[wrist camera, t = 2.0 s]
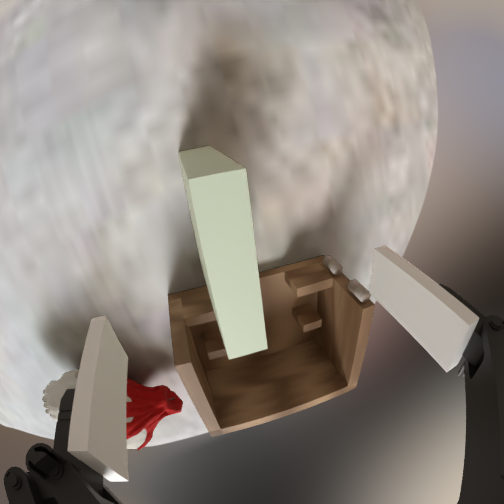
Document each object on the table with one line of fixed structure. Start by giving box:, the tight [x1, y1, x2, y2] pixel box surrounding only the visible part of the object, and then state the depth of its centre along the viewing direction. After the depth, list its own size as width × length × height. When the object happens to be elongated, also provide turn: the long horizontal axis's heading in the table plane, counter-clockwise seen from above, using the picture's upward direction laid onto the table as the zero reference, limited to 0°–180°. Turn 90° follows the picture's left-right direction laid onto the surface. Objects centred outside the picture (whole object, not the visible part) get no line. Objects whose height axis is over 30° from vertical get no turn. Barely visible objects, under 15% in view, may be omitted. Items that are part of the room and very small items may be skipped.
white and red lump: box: [42, 370, 183, 450], centre depth 26 cm, size 9×11×15 cm
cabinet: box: [168, 255, 375, 436], centre depth 26 cm, size 16×13×9 cm
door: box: [178, 146, 268, 360], centre depth 19 cm, size 11×2×11 cm, turn 6°
